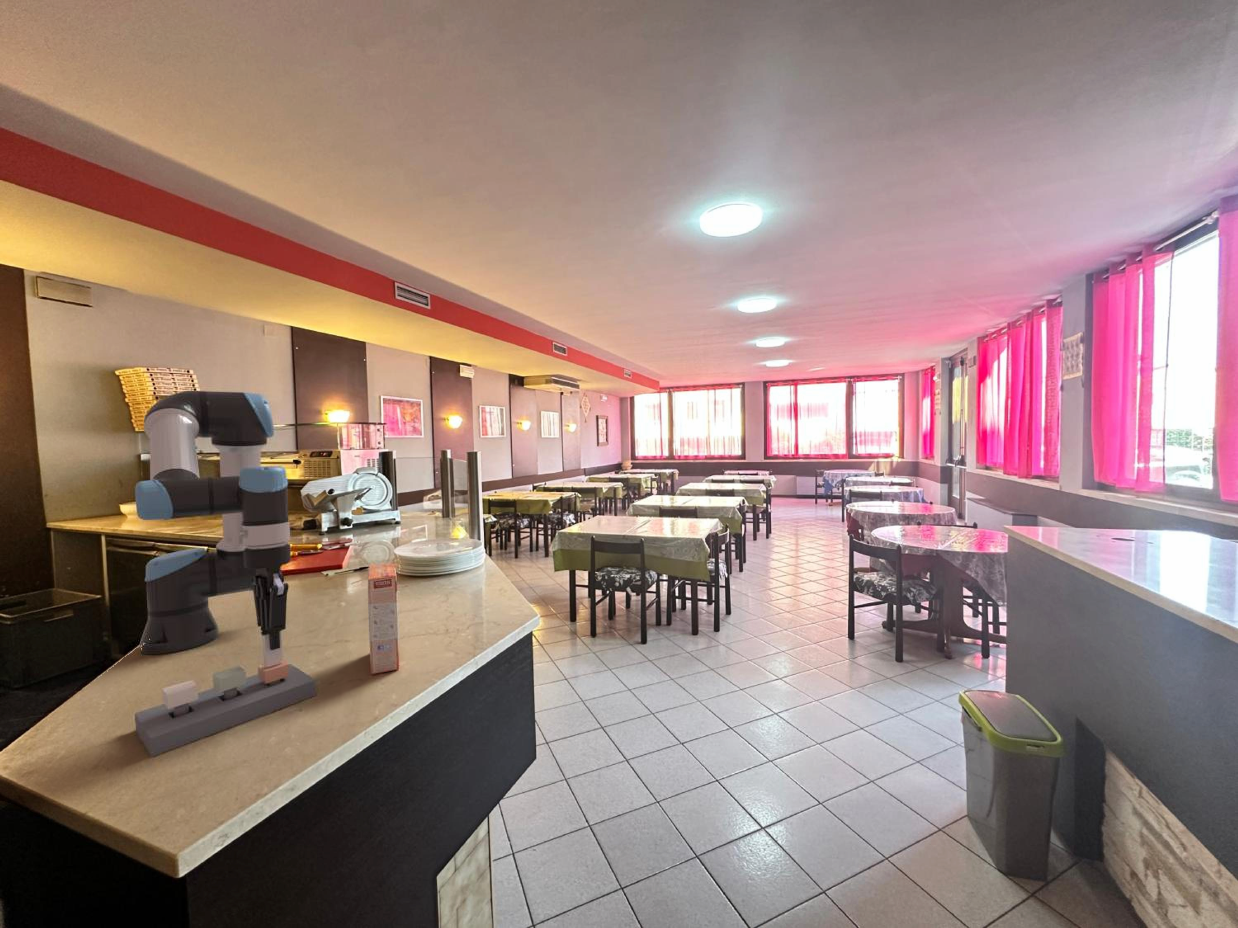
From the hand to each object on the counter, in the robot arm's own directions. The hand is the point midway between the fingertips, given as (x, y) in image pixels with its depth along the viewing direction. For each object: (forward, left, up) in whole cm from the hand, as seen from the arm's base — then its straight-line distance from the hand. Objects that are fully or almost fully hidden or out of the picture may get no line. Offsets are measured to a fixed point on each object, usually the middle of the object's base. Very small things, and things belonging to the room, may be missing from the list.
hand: (273, 664), depth 98 cm
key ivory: (0, -14, -4) cm, 15 cm away
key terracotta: (0, 0, -6) cm, 6 cm away
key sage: (0, -7, -4) cm, 8 cm away
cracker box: (+2, +21, -7) cm, 22 cm away
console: (0, -7, -6) cm, 9 cm away
